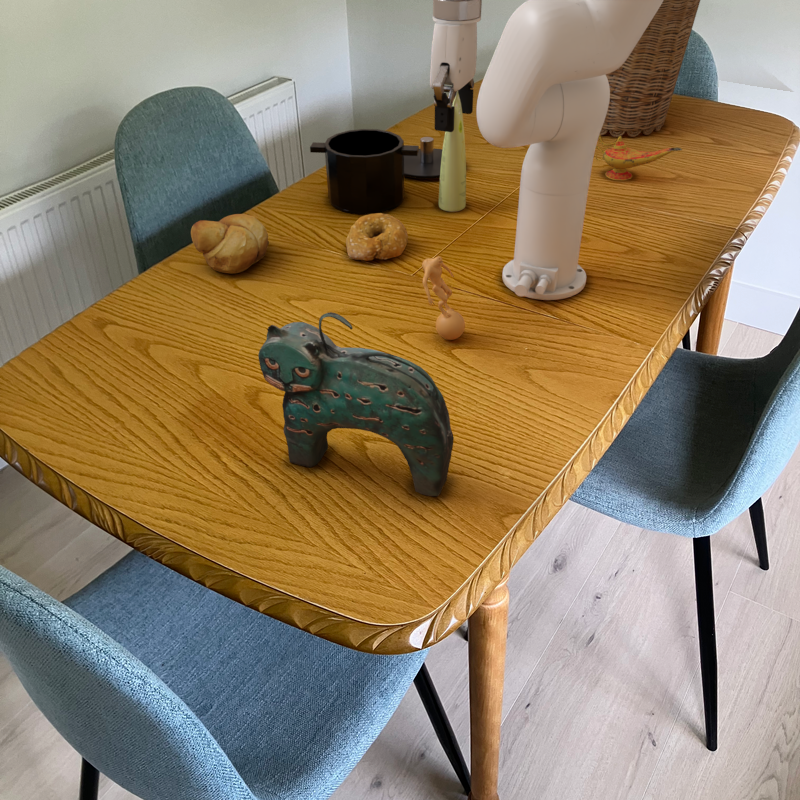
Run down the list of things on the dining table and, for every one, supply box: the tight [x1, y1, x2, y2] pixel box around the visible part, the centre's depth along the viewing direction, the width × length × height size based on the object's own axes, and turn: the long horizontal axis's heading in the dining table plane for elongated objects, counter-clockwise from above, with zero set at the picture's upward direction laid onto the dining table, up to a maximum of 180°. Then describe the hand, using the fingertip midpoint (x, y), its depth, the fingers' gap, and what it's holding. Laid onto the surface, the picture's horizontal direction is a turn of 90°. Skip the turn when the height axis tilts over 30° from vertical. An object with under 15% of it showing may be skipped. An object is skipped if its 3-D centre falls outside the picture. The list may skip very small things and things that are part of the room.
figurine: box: [421, 255, 466, 341], centre depth 102 cm, size 8×6×12 cm
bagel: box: [345, 213, 409, 262], centre depth 125 cm, size 10×11×5 cm
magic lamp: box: [595, 135, 683, 181], centre depth 145 cm, size 7×18×11 cm, turn 64°
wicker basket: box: [600, 0, 701, 138], centre depth 163 cm, size 35×35×33 cm
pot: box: [309, 128, 420, 216], centre depth 139 cm, size 14×19×10 cm
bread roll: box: [190, 213, 270, 274], centre depth 122 cm, size 13×10×8 cm
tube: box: [437, 91, 467, 213], centre depth 133 cm, size 6×5×20 cm
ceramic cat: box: [257, 311, 455, 497], centre depth 79 cm, size 20×6×20 cm, turn 69°
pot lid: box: [404, 136, 443, 180], centre depth 152 cm, size 15×15×6 cm
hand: (453, 121), depth 129 cm, fingers open, 9 cm apart
